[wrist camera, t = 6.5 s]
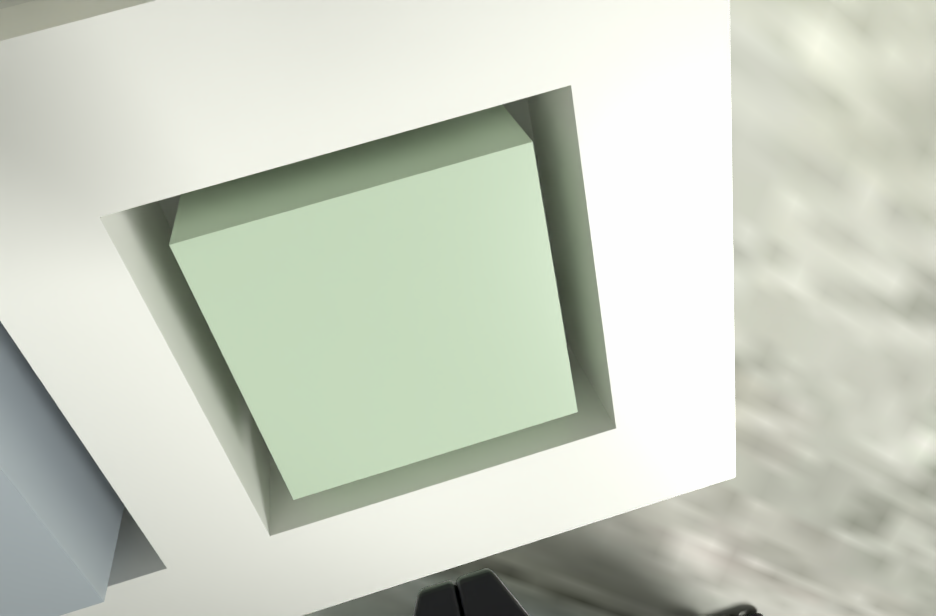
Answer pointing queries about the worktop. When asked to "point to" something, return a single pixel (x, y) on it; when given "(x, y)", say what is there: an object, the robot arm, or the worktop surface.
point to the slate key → (48, 502)
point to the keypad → (320, 132)
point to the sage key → (384, 298)
